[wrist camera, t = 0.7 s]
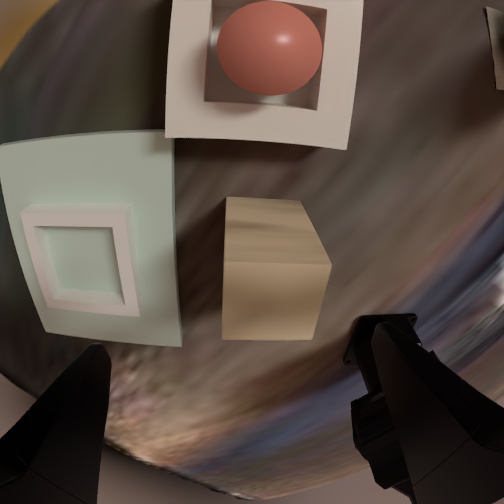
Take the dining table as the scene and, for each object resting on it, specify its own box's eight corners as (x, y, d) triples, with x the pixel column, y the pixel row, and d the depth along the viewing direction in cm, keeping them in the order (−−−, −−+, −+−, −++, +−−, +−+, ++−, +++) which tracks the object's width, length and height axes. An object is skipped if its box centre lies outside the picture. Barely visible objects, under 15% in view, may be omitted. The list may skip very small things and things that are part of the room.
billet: (290, 262, 24) (311, 339, 17) (223, 260, 24) (221, 339, 17) (300, 200, 22) (331, 265, 15) (226, 196, 21) (224, 261, 14)
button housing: (331, 139, 19) (346, 150, 17) (174, 129, 18) (165, 137, 16) (346, -2, 14) (364, -12, 12) (184, -18, 13) (177, -33, 11)
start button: (302, 97, 16) (317, 101, 13) (217, 90, 16) (213, 92, 13) (309, 20, 14) (326, 9, 11) (223, 12, 14) (221, -3, 11)
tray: (182, 338, 28) (179, 359, 25) (49, 325, 26) (40, 342, 24) (174, 129, 18) (167, 136, 16) (3, 143, 17) (-16, 152, 15)
